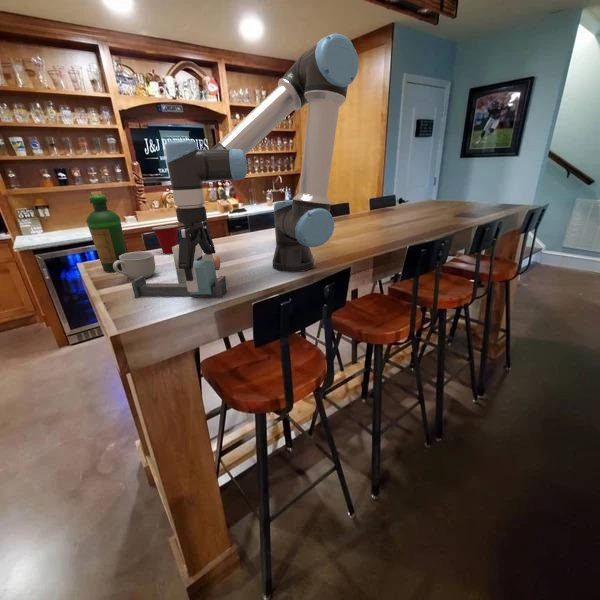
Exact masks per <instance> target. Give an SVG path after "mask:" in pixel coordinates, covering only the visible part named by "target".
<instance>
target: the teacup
mask: <svg viewBox="0 0 600 600" xmlns="http://www.w3.org/2000/svg"><path fill="white" fill-rule="evenodd" d="M119 259H120V260H117V261H115V262H114V264H113V269H114V270H115V271H116V272H115V273H118V274H121V275H123V276H124V277H127V278H129V279H131V280H135V279H136V278H138V277H140V276H145V279H148V278H150V277H151V276H152V274H154V273H155V271H156V262H155V253H154V252H151V251H147V250H146V251H141V250H140V251H131V252H126V253H125V254H122V255H120V256H119ZM119 263H120V264H121V267H122V271H120V270H119V269H118V268H117V265H118V264H119Z"/></svg>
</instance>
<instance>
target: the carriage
mask: <svg viewBox="0 0 600 600" xmlns="http://www.w3.org/2000/svg"><path fill="white" fill-rule="evenodd" d="M193 268H195V272H196V278H197V284H198V290H199V291H198V292H190V294H212V291H211V286H212V285H213V284H214V283H216V282H215V281H216V280H217V279H218V278H217V272H216V271H217V270H215V263H214V261H194V263H193Z"/></svg>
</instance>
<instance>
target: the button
mask: <svg viewBox="0 0 600 600" xmlns="http://www.w3.org/2000/svg"><path fill="white" fill-rule="evenodd" d="M220 259H221V258H220V257H219V256H218V255H217V256H213V261H214V263H215V270H216V271H220V269H221V260H220ZM199 261H204V259H199Z"/></svg>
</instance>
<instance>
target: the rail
mask: <svg viewBox="0 0 600 600" xmlns="http://www.w3.org/2000/svg"><path fill="white" fill-rule="evenodd" d="M215 282H216V283H214V284H213V285H212V286H211V291H212V294H190V292H188V290H187V284H186V283H178V282H177V283H173V282H172V283H170V282H169V283H163V282H161V283H160V282H159V283H151V282H150V283H149V282H148V283H147V280H146V278H145V276H140V277H138V278H136V279H132V280H131V281H130V283H131V288H132V290H133V295H134V298H135V299H139V298H142V297H144V298H146V297H150V298H151V297H156V298H158V297H162V298H163V297H164V298H165V297H169V298H170V297H171V298H173V297H177V298H179V297H182V298H183V297H184V298H185V297H187V298H191V297H192V298H194V297H195V298H197V297H199V298H200V297H201V298H204V297H206V298H216V297H217V299H223V298H224V296H225V295H226V294H227V293H228V287H227V280H226V275H220V276H219V277H218V278H217V280H216V281H215Z"/></svg>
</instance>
